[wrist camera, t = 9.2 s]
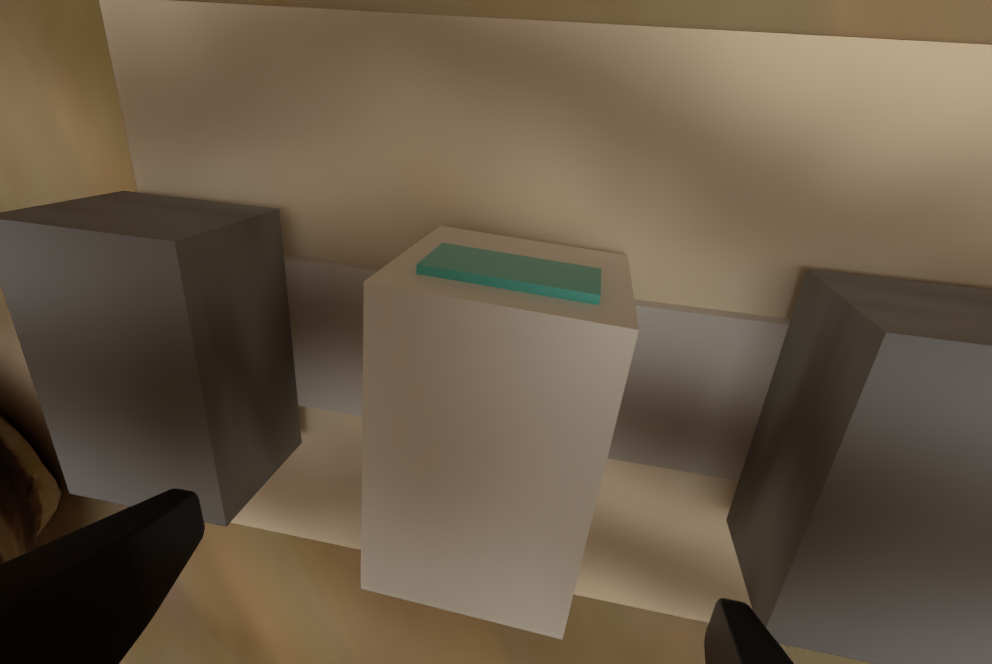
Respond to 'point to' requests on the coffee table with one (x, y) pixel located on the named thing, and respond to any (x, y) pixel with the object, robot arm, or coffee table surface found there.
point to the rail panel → (571, 222)
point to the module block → (489, 420)
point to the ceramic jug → (22, 494)
